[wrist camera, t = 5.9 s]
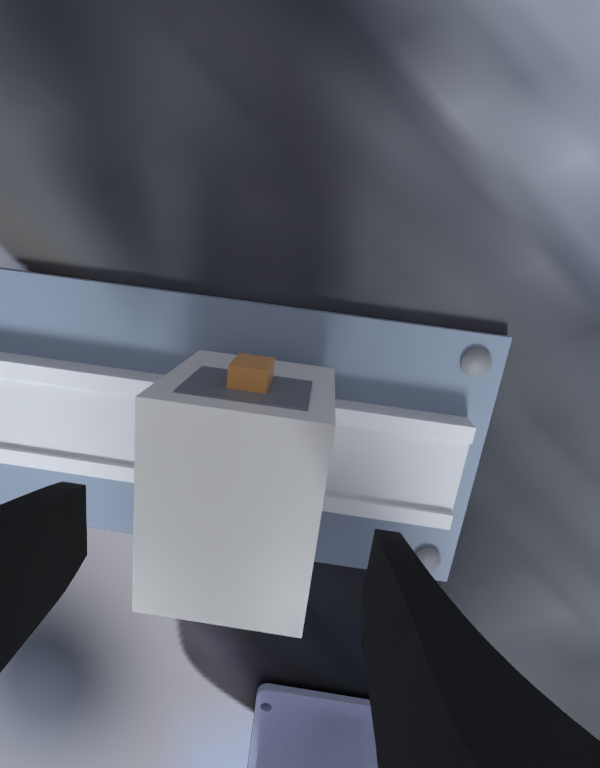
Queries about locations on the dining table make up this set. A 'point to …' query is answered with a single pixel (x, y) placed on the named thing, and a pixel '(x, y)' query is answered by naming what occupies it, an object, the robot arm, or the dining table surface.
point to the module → (231, 490)
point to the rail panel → (256, 337)
